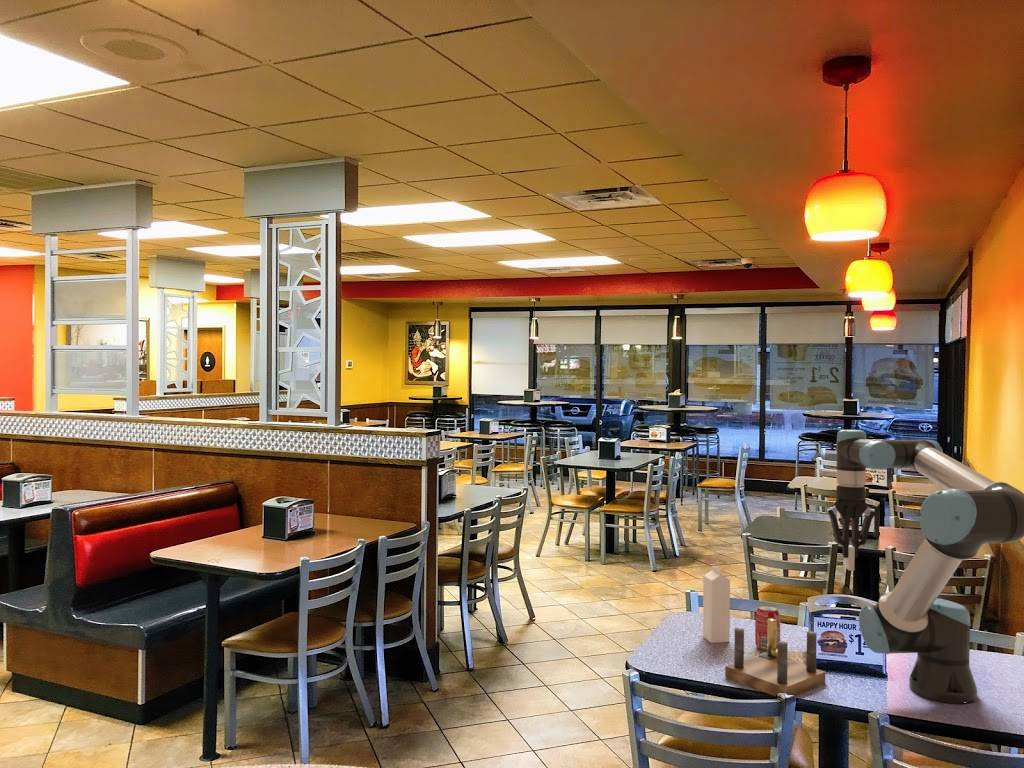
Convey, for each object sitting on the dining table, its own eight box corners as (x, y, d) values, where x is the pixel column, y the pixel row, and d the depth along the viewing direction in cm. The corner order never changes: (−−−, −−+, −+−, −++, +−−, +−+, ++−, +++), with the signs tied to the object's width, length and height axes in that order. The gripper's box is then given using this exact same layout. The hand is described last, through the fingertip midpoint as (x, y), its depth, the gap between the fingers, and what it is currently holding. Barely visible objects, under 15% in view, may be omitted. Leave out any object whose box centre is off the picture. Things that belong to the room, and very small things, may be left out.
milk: (711, 643, 235) (711, 570, 234) (702, 636, 241) (702, 565, 240) (730, 642, 236) (730, 569, 236) (720, 635, 242) (721, 564, 242)
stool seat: (825, 683, 204) (825, 633, 204) (785, 699, 193) (785, 647, 193) (765, 663, 218) (766, 616, 218) (725, 677, 208) (725, 628, 207)
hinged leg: (785, 657, 212) (785, 623, 212) (777, 658, 212) (778, 624, 211) (772, 651, 217) (772, 618, 217) (765, 652, 216) (765, 618, 216)
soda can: (776, 644, 234) (777, 604, 234) (782, 652, 227) (783, 611, 227) (752, 643, 235) (753, 603, 234) (757, 651, 228) (758, 610, 227)
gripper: (871, 484, 221) (870, 567, 221) (823, 482, 223) (822, 565, 223) (880, 487, 214) (879, 573, 214) (830, 486, 216) (829, 571, 216)
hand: (850, 569), depth 219 cm, fingers closed
